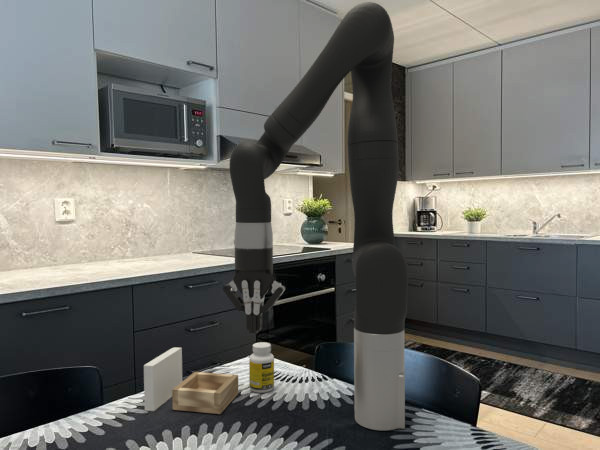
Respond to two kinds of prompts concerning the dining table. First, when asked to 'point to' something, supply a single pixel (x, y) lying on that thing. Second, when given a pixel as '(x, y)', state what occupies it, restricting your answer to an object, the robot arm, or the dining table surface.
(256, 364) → the supplement bottle
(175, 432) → the dining table surface
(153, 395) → the backstop board
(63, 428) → the dining table surface
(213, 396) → the socket block
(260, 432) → the dining table surface
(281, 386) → the dining table surface
